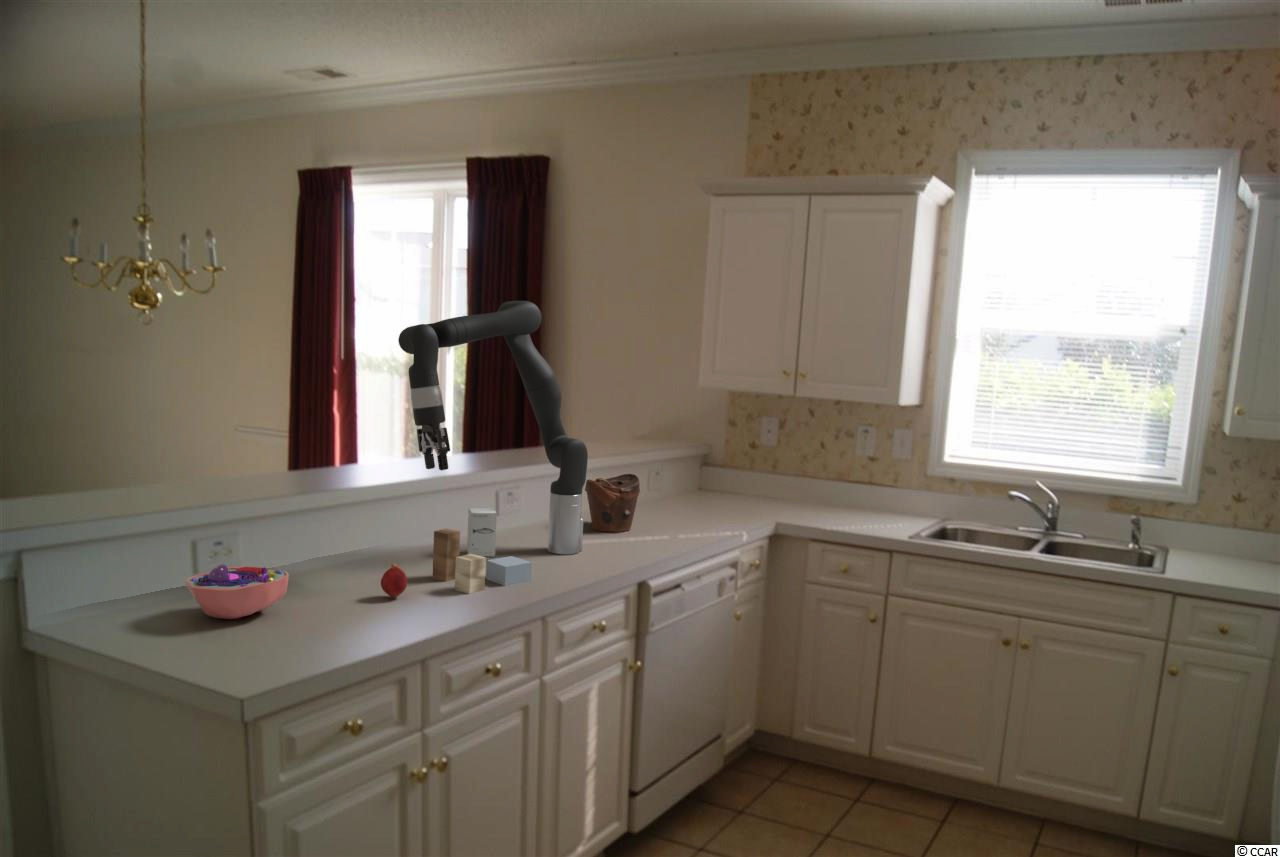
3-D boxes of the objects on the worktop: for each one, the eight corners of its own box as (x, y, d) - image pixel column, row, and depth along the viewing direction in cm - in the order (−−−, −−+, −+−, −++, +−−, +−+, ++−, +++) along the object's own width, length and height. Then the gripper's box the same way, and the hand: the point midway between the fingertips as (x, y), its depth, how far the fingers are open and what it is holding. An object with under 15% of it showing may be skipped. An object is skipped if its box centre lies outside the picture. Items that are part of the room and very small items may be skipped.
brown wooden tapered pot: (574, 531, 284) (576, 476, 282) (595, 520, 303) (597, 469, 301) (626, 537, 279) (629, 481, 277) (644, 526, 298) (647, 474, 296)
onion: (397, 593, 205) (398, 559, 204) (412, 598, 201) (413, 564, 201) (375, 597, 200) (376, 563, 200) (390, 603, 197) (391, 568, 196)
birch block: (469, 585, 214) (471, 553, 214) (484, 589, 212) (485, 557, 211) (454, 589, 210) (455, 557, 210) (469, 594, 208) (470, 560, 207)
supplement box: (468, 557, 242) (470, 512, 241) (466, 551, 249) (468, 507, 248) (495, 557, 244) (497, 512, 243) (492, 550, 251) (494, 507, 250)
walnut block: (444, 574, 223) (446, 528, 222) (458, 577, 221) (460, 531, 220) (432, 578, 219) (434, 531, 218) (446, 581, 217) (447, 533, 216)
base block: (511, 575, 227) (511, 556, 227) (530, 581, 222) (531, 562, 221) (485, 579, 222) (486, 560, 221) (505, 586, 216) (506, 566, 216)
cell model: (302, 617, 184) (303, 564, 183) (200, 635, 170) (201, 578, 169) (271, 598, 196) (272, 548, 195) (174, 613, 182) (174, 559, 181)
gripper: (453, 402, 215) (462, 467, 216) (430, 403, 226) (440, 465, 228) (424, 406, 210) (434, 473, 212) (403, 407, 222) (412, 470, 223)
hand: (437, 469), depth 220 cm, fingers open, 8 cm apart
